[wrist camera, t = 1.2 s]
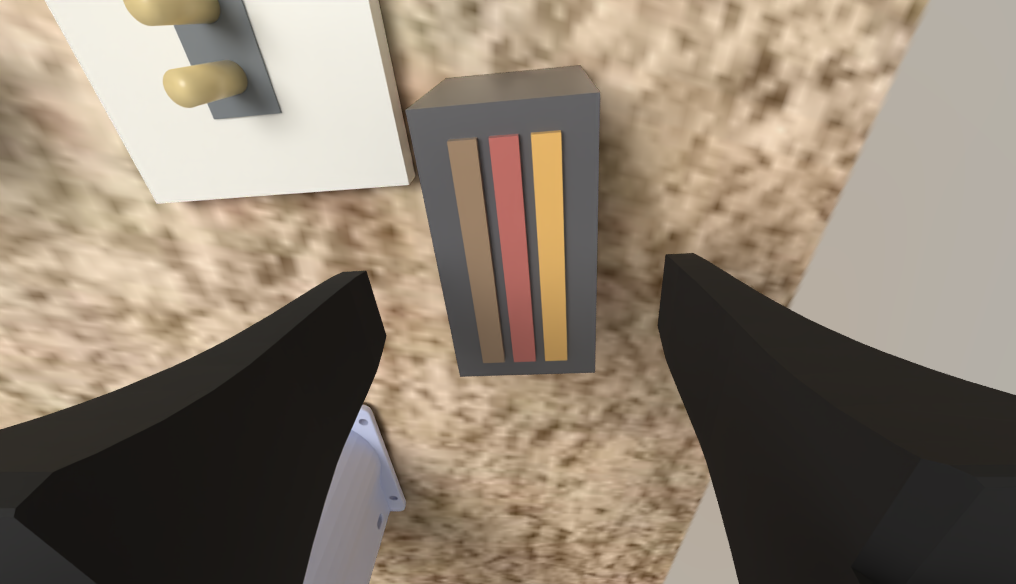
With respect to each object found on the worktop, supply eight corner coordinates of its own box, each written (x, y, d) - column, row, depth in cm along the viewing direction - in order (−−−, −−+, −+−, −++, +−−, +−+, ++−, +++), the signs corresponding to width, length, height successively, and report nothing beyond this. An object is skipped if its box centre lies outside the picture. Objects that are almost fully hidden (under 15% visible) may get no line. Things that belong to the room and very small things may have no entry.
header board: (415, 176, 17) (389, 211, 14) (174, 194, 18) (103, 231, 15) (310, -323, 10) (221, -452, 7) (-58, -251, 11) (-266, -342, 8)
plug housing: (580, 284, 19) (595, 376, 14) (478, 289, 19) (459, 380, 15) (579, 65, 14) (601, 93, 10) (445, 78, 15) (403, 112, 10)
